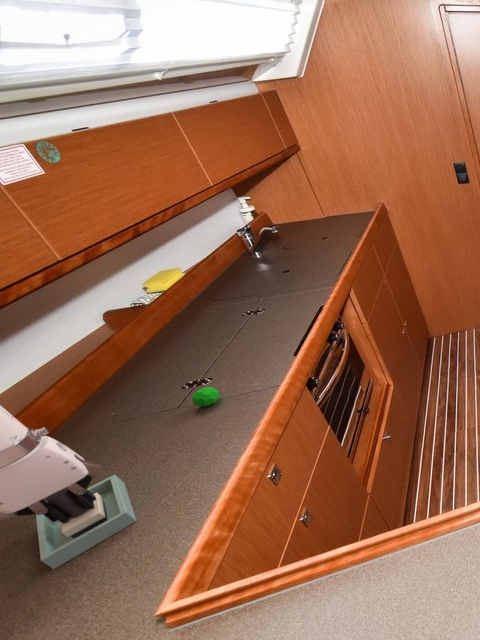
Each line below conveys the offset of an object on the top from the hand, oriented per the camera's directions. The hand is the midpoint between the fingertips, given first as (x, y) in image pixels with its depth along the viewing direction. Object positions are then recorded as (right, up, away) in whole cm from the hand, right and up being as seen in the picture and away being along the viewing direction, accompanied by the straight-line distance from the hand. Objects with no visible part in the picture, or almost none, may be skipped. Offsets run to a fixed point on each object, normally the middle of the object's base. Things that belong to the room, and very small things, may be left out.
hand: (78, 511), depth 80 cm
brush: (0, -3, +2) cm, 3 cm away
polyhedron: (-5, +12, +29) cm, 32 cm away
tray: (0, -3, +2) cm, 4 cm away
